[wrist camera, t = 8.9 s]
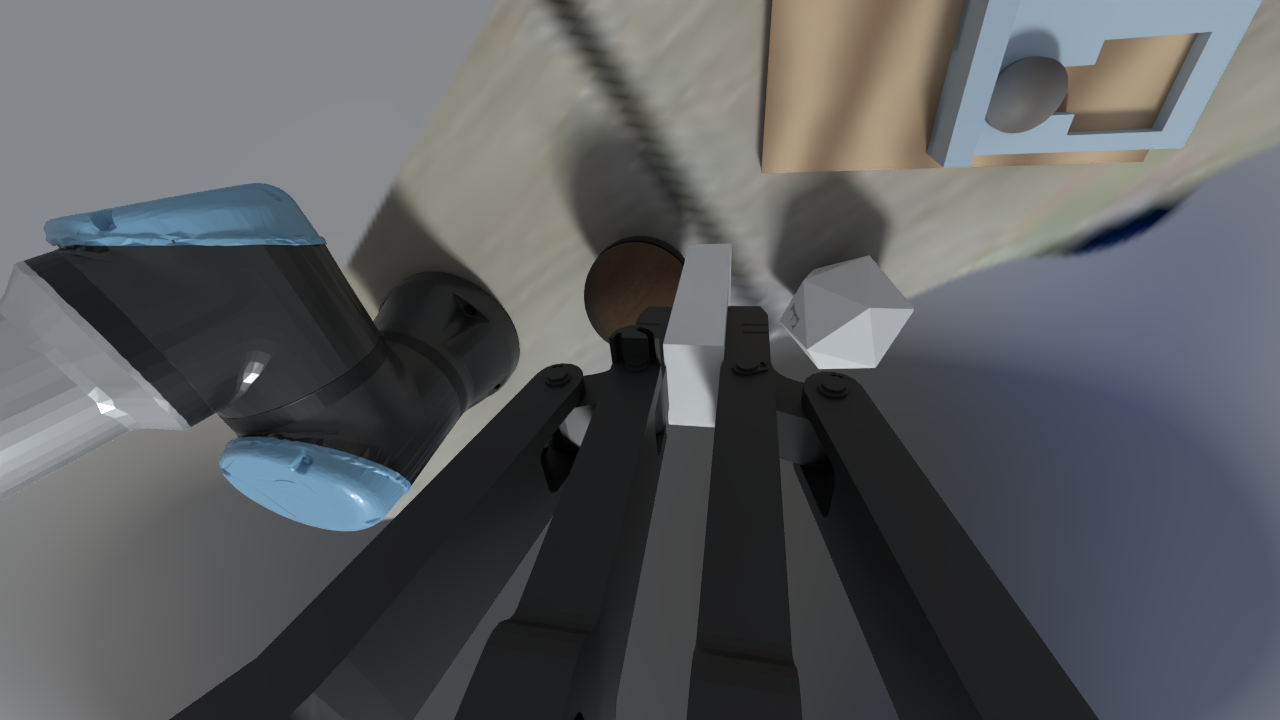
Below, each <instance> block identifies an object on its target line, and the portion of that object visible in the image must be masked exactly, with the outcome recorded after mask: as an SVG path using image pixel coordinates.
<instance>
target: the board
mask: <svg viewBox="0 0 1280 720" xmlns="http://www.w3.org/2000/svg"><path fill="white" fill-rule="evenodd" d="M964 1H965V0H772V10H771V26H770V42H769V57H768V73H767V89H766V105H765V120H764V136H763V152H762V168H761V173H790V172H822V171H855V170H887V169H920V168H943V167H942V166H941V165H940V164H938V163H937V162H936V161H935V160H934V159H932V158H931V157H930V156H929V155H928V154H926V153H927V149H928V145H929V141H930V137H931V133H932V129H933V125H934V121H935V117H936V113H937V109H938V105H939V101H940V97H941V93H942V89H943V85H944V81H945V77H946V73H947V69H948V65H949V61H950V57H951V53H952V49H953V45H954V41H955V37H956V33H957V29H958V25H959V21H960V17H961V13H962V9H963V5H964ZM1197 35H1198V33H1190V34H1177V35H1164V36H1151V37H1138V38H1125V39H1112V40H1104V43H1103V45H1102V48H1101V50H1100V53H1099V55H1098V58H1097V60H1096V63H1095V65H1084V66H1069V67H1064V66H1063V65H1062V64H1061V63H1060V62H1059V61H1057V60H1055V59H1052V58H1048V57H1041V56H1031V57H1026V58H1022V59H1020V60H1017V61H1015V62H1013V63H1011V64H1010V65H1008V66H1007V67H1005V68H1004V69H1003V70H1002V71H1001V72H999V73H998V77H997V80H996V83H995V87H994V90H993V93H992V96H991V100H990V103H989V106H988V110H987V113H986V116H985V120H986V122H987V123H988V124H989V125H990V126H991V127H993V128H995V129H997V130H999V131H1001V132H1004V133H1013V134H1014V133H1021V132H1025V131H1028V130H1031V129H1033V128H1035V127H1037V126H1039V125H1040V124H1042V123H1043V122H1045V121H1046V120H1047V119H1048V118H1049V117H1050V116H1052V115H1053V114H1054V112H1069V113H1072V114H1075V115H1074V118H1073V120H1072V123H1071V125H1070V128H1069V130H1068V132H1077V131H1101V130H1124V129H1147V128H1152V126H1153V124H1154V122H1155V120H1156V118H1157V116H1158V114H1159V112H1160V110H1161V108H1162V106H1163V104H1164V102H1165V100H1166V98H1167V95H1168V93H1169V91H1170V89H1171V87H1172V85H1173V83H1174V81H1175V79H1176V77H1177V75H1178V73H1179V71H1180V69H1181V67H1182V65H1183V63H1184V61H1185V59H1186V57H1187V55H1188V53H1189V51H1190V49H1191V47H1192V45H1193V43H1194V41H1195V39H1196V37H1197ZM1148 151H1149V149H1140V150H1112V151H1084V152H1056V153H1027V154H999V155H974V156H973V159H972V162H971V165H970V167H984V166H1017V165H1049V164H1082V163H1114V162H1143V161H1144V159H1145V157H1146V155H1147V153H1148ZM944 168H952V167H944Z"/></svg>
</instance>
